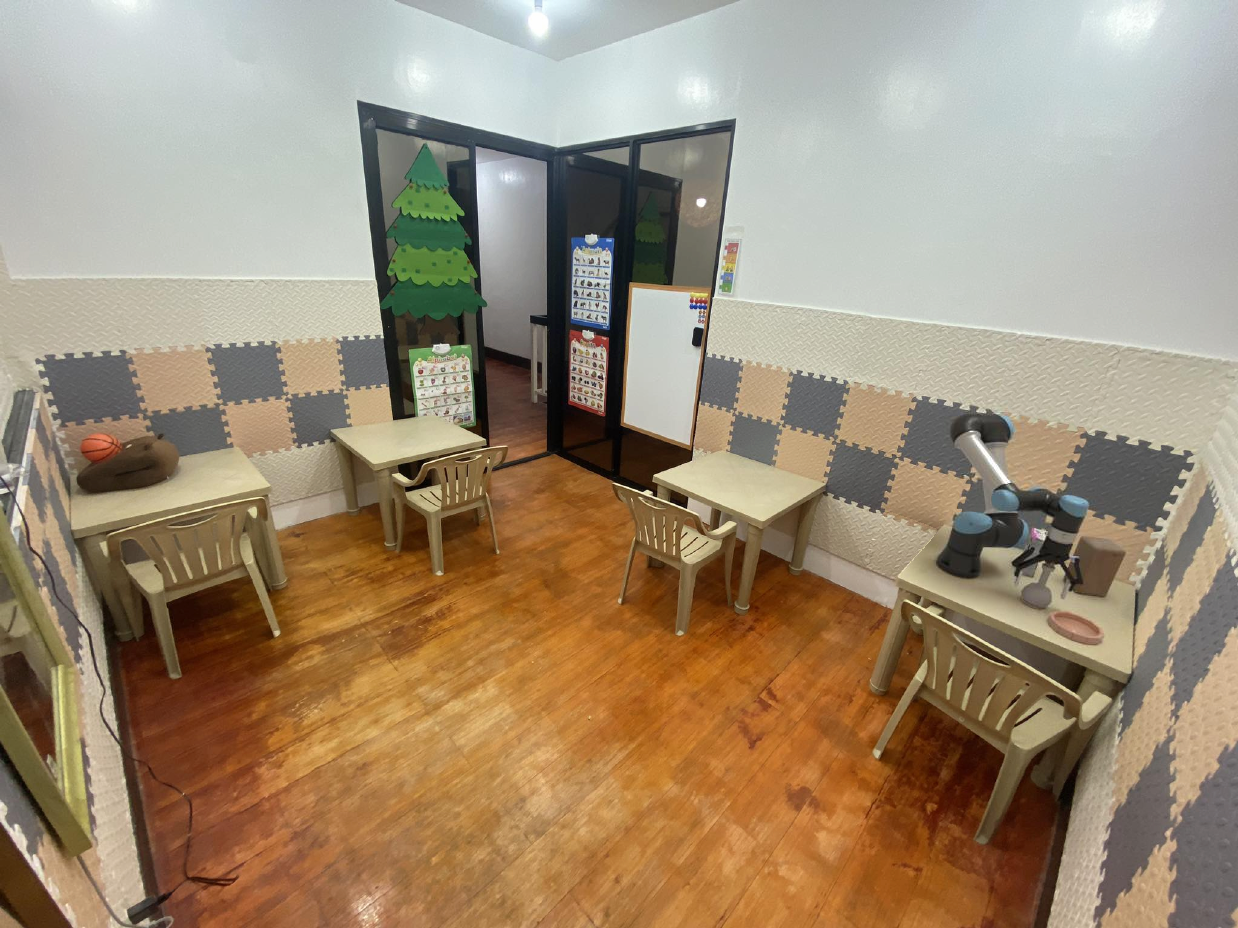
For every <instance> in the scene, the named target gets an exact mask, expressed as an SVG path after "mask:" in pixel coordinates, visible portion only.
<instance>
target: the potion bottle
mask: <svg viewBox="0 0 1238 928" xmlns="http://www.w3.org/2000/svg"><path fill="white" fill-rule="evenodd" d="M1041 569H1042V572H1041V574H1040V576H1039V579H1038V582H1030V583H1028V584H1027V585H1025V586H1024V587H1023V588H1022V590H1021V593H1020V595H1021V598H1022V599H1021V600H1022V601H1023V603H1024V604H1026V605H1027V606H1028V607H1030V608H1033V609H1037V610H1043V609H1045V608H1046V607H1048V606H1050V604H1052V599H1053V595H1052V594H1053V593H1052V591H1051V589H1050V587H1048V586H1047V585H1046V584H1047V582H1048V580H1049V577H1050V575H1051V573H1053V572H1054V571H1055V570H1056V565H1054V563H1052V562H1051V563H1046V562H1045V561H1044V562H1043V563H1042V564H1041Z"/></svg>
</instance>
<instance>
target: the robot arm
mask: <svg viewBox="0 0 1238 928" xmlns="http://www.w3.org/2000/svg"><path fill="white" fill-rule="evenodd" d="M1014 433H1015V427H1014V424H1013V422H1012V420H1011V419H1010V417H1007V416H1006V415H1004V414H998V413H976V412H975V413H974V412H973V413H972V412H967V413H963V414H960V415H957V416H956V417H955V418H954V419H953V420H952V421H951V423H950V424H949V427H948V435H949V438H950V440H951V442H952V444H953V445H954V447H955V448H956V449H958V450H961V451H962V453H963V454H964V456H965V457H966V458H967V460H968V461H969V463H970V464H971V465H972V467H973V468H974V469H975V471H976V472H977V474H978V475H979V476H980V478H981V481H982V487H983V488H982V489H983V494H984V505H985V510H984V511H983V512H975V511H963V512H960V513H958V514H957V515H956V517H955V519H954V521H953V522H952V527H951V531H950V533H949V537H948V541H947V543H946V546H945V547H944V548H943V550H942V551H941V552H940V553H939V554H938V556H937V558H936V560H935V563H936V566H938V568H939V569H940V570H942V571H943V572H945V573H948V574H950V575H952V576H955V577H959V578H961V579H962V578H963V579H977V578H978V577H980V575H981V572H982V565H981V554H982V553H983V549H984V548H992V549H993V548H995V549H996V548H997V549H998V548H999V549H1000V548H1002V549H1003V548H1004V549H1011V548H1018V547H1020V546H1023V545H1024V543H1025V542H1027V540H1028V537H1029V535H1030V531H1029V525H1028V524H1027V522H1025V520H1024V519H1022V518H1020V516H1019V512H1025V513H1029V512H1030V513H1031V512H1032V513H1033V512H1034V513H1035V512H1036V513H1042V514H1045V515H1047V516H1049V517H1050V518H1052V520H1051V523H1050V525H1049V528H1048V530H1047V532H1046V535H1047V536H1046V538H1045V540H1044V543H1043V545H1042V547H1041V548H1038V547H1035V546H1034V545H1030V547H1029V548H1028V550H1026V551H1025V552H1024V553H1023V552H1022V553H1021V554H1020V555H1018V556H1017V557H1016V558H1014V559H1013V560H1012V561H1011V566H1012V567H1013V568H1015V570H1014V577H1015V580H1014V582H1013V583H1014V584H1013V585H1014V587H1018V586H1019V584H1020V581H1021V579H1022V576H1023V569H1024V568H1026V567H1029V566H1031V565H1033V564H1036V563H1038V562H1039V563H1042V562H1044V563H1045V562H1046V563H1051V562H1052V563H1054V566H1057V565H1060V567H1061V569H1062V570H1063V571H1064V574H1065V573H1066V575H1067V577H1068V578H1069V580H1070V581H1069V580H1067V581H1066V582H1065V583H1064V586H1063V587H1062V591H1061V593H1060V599H1062V600H1063V601H1065V599H1066V597H1067V594H1068V592H1070V593H1071V592H1072V591H1073V590H1074V589H1073V588H1074V585H1076V584H1080V585H1082V584H1083V580H1082V576H1081V572H1080V568H1079V561H1080V559H1079V557H1078V556H1077V555H1075V556H1073V555H1070V553H1071V552H1072V551H1071V550H1072V548H1073V547H1074V543H1075V541H1076V538H1077V536H1078V534H1079V531H1080V528H1081V526H1082V524H1083V522H1084V520H1085V518H1086V516H1087V514H1088V510H1089V508H1090V507H1089V506H1090V503H1089V502H1088V501H1087V500H1086V499H1084V498H1082V497H1079V496H1075V495H1071V494H1066V495H1063V496H1060V495H1058V494H1056V493H1054V492H1052V491H1051V490H1049V489H1047V488H1044V487H1041V486H1034V487H1032V488H1029V489H1027V490H1021V489H1020V488H1019V487H1018V486H1017V485H1016V483H1015V482H1014V481H1013V479H1012V478H1011V477H1010V475H1009V473H1008V465H1007V464H1008V463H1007V459H1006V451H1005V449H1006V448H1007V447H1008V446H1009V441H1011V440H1012V438H1013V435H1014ZM1037 551H1038V552H1039V553H1040V554H1039V555H1036V556H1035V557H1033V558H1031V559H1029V560H1026V561H1024V560H1025V559H1026V558H1028V557H1029V556H1030V555H1032V554H1033V553H1035V552H1037ZM1069 560H1070V561H1071V562H1072V563H1073V565H1074V569H1075V572H1076V576H1077V579H1074V577H1073V576H1072V574H1071V573H1070V571H1069V569H1068V566H1067V564H1066V563H1065V562H1067V561H1069ZM1022 561H1024V562H1022ZM1021 562H1022V563H1021ZM1039 563H1038V564H1039Z"/></svg>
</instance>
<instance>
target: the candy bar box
mask: <svg viewBox="0 0 1238 928" xmlns="http://www.w3.org/2000/svg"><path fill="white" fill-rule="evenodd" d="M1046 536H1048V535H1047V531H1046V530H1043V529H1039V528H1036V527H1031V530H1030V531H1029V534H1028V538H1027V540H1026V543H1025V546H1024V549H1023V551H1022V553H1024V552H1025V551H1026V550H1028V548H1029V547H1030V545H1034V546H1035V547H1038V548H1041V547H1042V545H1043V543H1044V540H1045V538H1046ZM1039 554H1040V553H1039V552H1038V551H1037V552H1035V553H1033V554H1032V555H1030V556H1029V557H1028V558H1026V559H1025V560H1024V561H1026V560H1029V559H1031V558H1033V557H1035V556H1036V555H1039ZM1024 561H1022V562H1024ZM1022 562H1021V563H1022ZM1039 563H1040V562H1038V563H1036V564H1033V565H1031V566H1029V567H1026V568H1024V569H1023V574H1022V576H1023V575H1025V576H1027V577H1031V578H1033V577H1034V575H1035V573H1036V570H1037V567H1038V565H1039Z"/></svg>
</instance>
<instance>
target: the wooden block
mask: <svg viewBox="0 0 1238 928" xmlns="http://www.w3.org/2000/svg"><path fill="white" fill-rule="evenodd" d="M1126 554H1127V551H1126V550H1125V549H1123V548H1122V547H1120V546H1119V545H1117V544H1116V543H1115V542H1114V541H1112V539H1110V538H1109V539H1108V538H1101V537H1093V536H1085V535H1082V536H1080V538H1079V539H1078V543H1077V545H1076V547H1075V550H1074V552H1073V554H1072V556H1075V555H1077V556H1078V557H1079V559H1080V561H1079V568H1080V572H1081V576H1082V580H1083V584H1082V585H1080V584H1076V585H1074V588H1073V590H1074V591H1075V592H1076V593H1079V594H1083V595H1084V594H1085V595H1091V596H1098V597H1106V596H1107V594H1108V592H1109V590H1110V588H1111V586H1112V584H1113V582H1114V580H1115V577H1116V576H1117V573H1118V572H1119V568H1120V567H1121V565H1122V564H1123V563H1122V562H1123V560H1124V558H1125V557H1126ZM1067 568H1068V569H1069V571H1070V573H1071V574H1072V576H1073V577H1074V579H1077V576H1076V572H1075V569H1074V565H1073V563H1072V562H1071V560H1070V561H1069V564H1068V566H1067ZM1067 580H1069V578H1068V577H1067V575H1066V573H1065V572H1064V576H1063V581H1064V582H1065V583H1066V581H1067ZM1069 581H1070V580H1069Z"/></svg>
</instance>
